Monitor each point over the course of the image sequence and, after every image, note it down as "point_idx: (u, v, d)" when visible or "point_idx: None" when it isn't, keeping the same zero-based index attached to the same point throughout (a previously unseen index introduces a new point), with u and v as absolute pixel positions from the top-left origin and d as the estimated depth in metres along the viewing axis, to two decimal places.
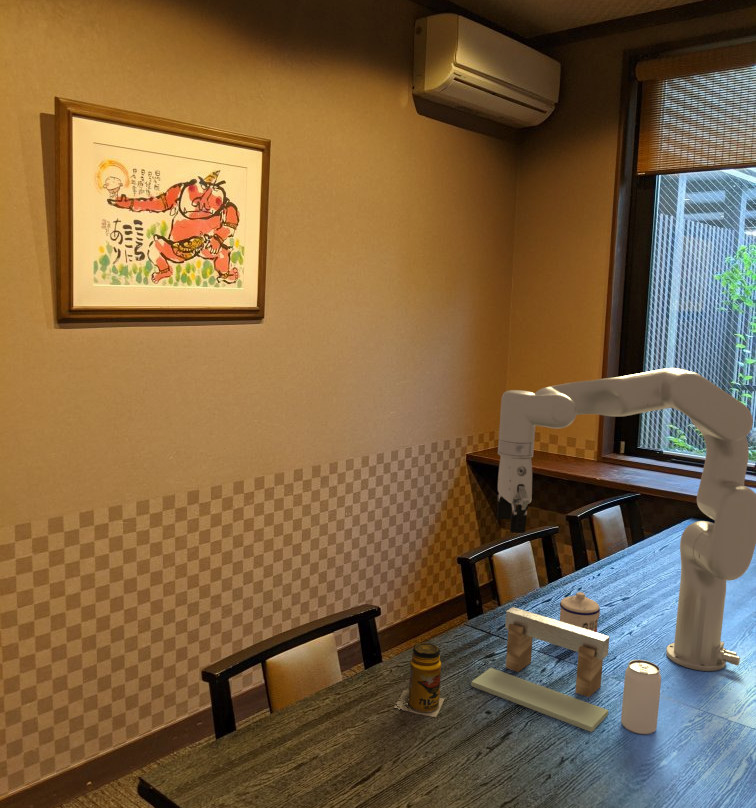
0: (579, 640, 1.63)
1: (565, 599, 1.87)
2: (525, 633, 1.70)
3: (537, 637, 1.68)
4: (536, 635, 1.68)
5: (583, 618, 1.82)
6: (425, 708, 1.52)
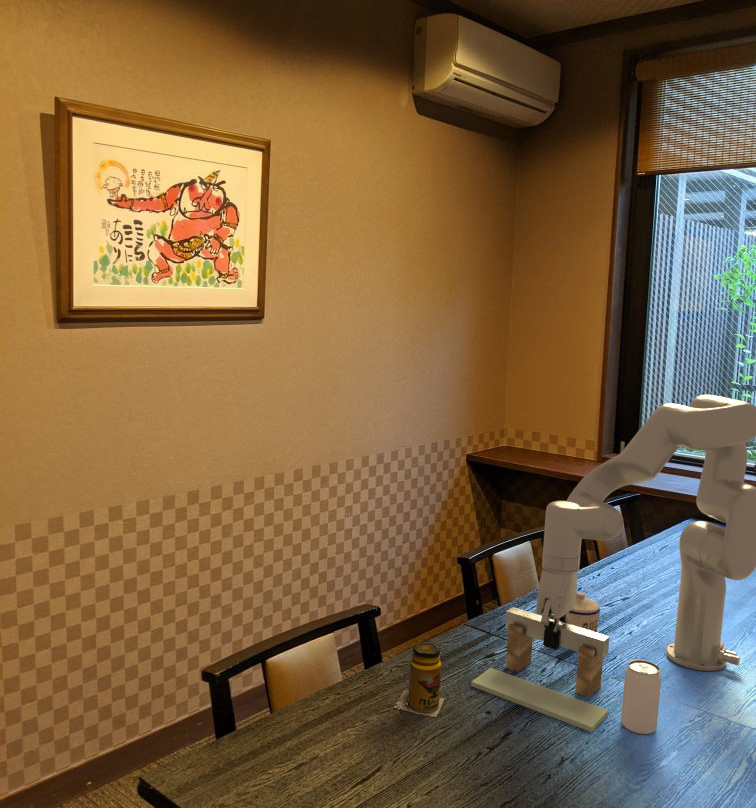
0: (579, 640, 1.63)
1: None
2: (525, 633, 1.70)
3: (537, 637, 1.68)
4: (536, 635, 1.68)
5: (583, 618, 1.82)
6: (425, 708, 1.52)
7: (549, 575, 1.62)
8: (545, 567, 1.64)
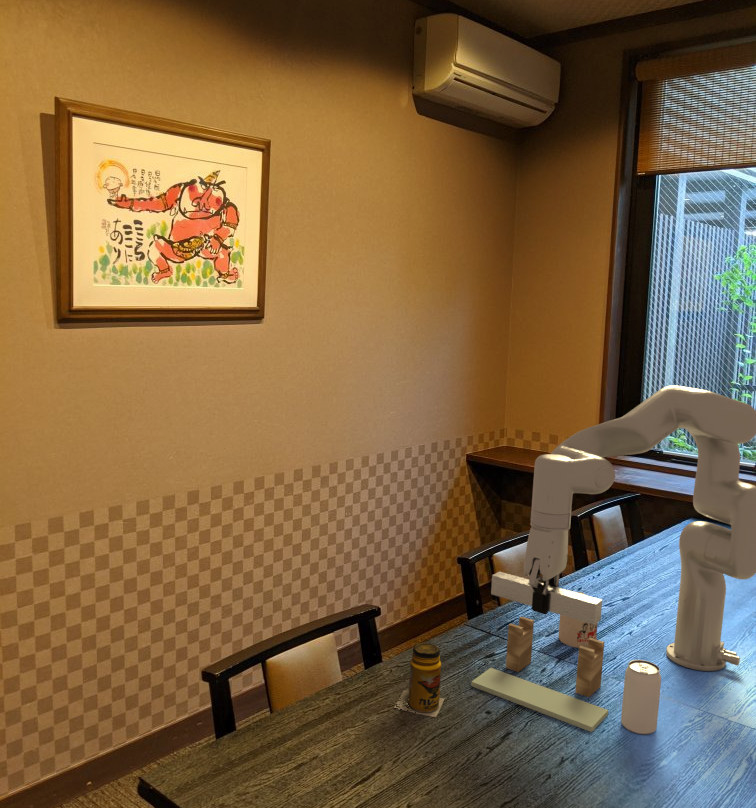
0: (569, 604, 1.51)
1: None
2: (512, 598, 1.58)
3: (525, 602, 1.57)
4: (524, 600, 1.57)
5: None
6: (425, 708, 1.52)
7: (537, 533, 1.50)
8: (533, 525, 1.52)
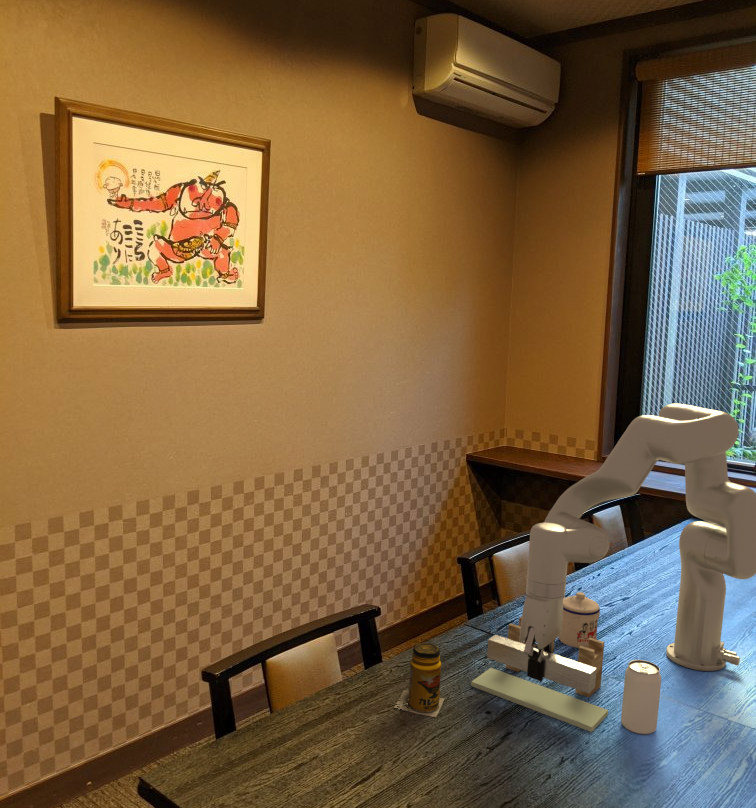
0: (564, 672, 1.53)
1: (565, 599, 1.87)
2: (508, 663, 1.60)
3: (520, 668, 1.59)
4: (519, 665, 1.59)
5: (583, 618, 1.82)
6: (425, 708, 1.52)
7: (533, 602, 1.52)
8: (529, 593, 1.54)
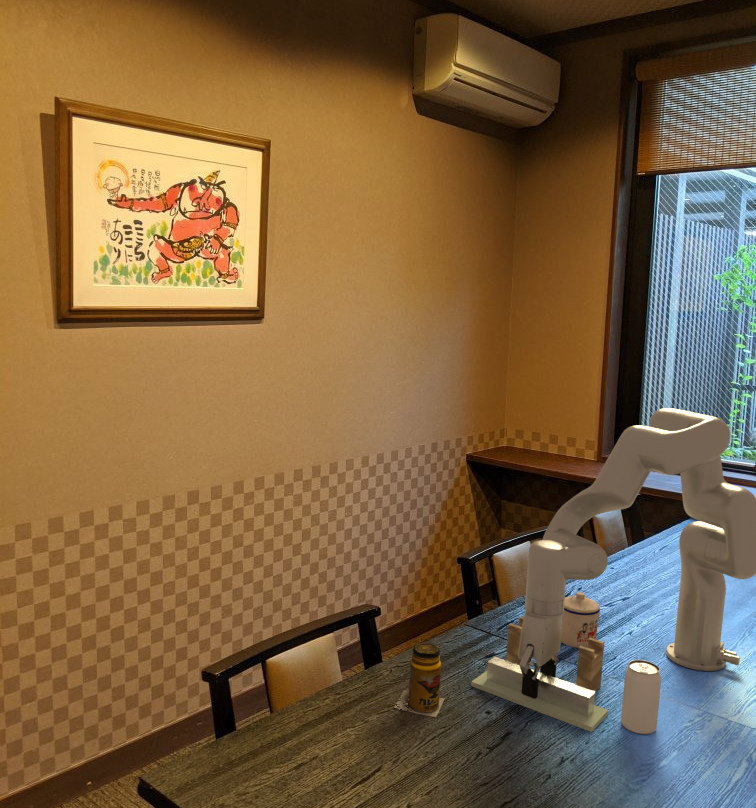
0: (563, 695, 1.54)
1: (565, 599, 1.87)
2: (507, 685, 1.61)
3: (520, 690, 1.60)
4: (519, 688, 1.60)
5: (583, 618, 1.82)
6: (425, 708, 1.52)
7: (531, 619, 1.53)
8: (528, 611, 1.55)
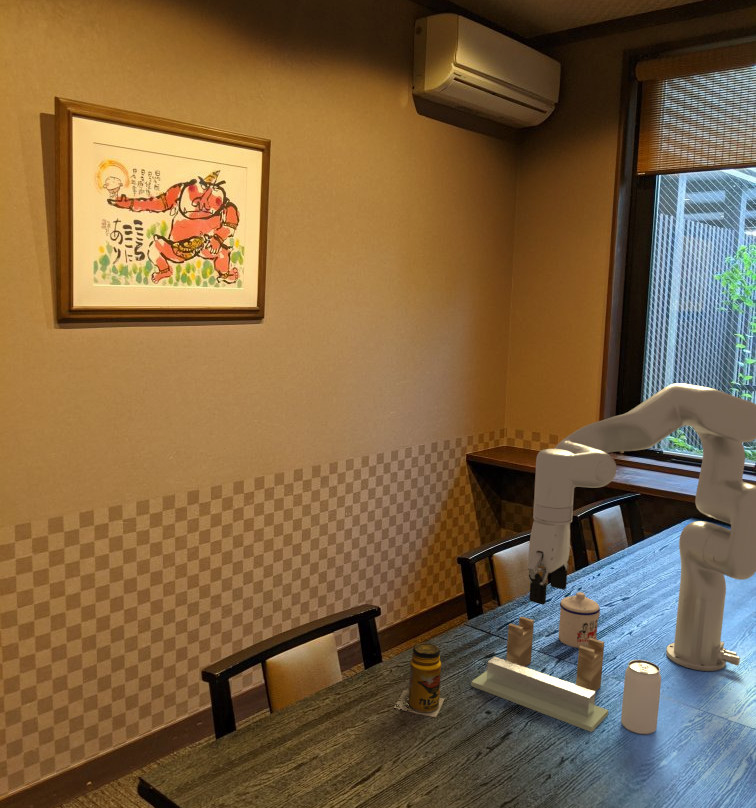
0: (563, 695, 1.54)
1: (565, 599, 1.87)
2: (507, 685, 1.61)
3: (520, 690, 1.60)
4: (519, 688, 1.60)
5: (583, 618, 1.82)
6: (425, 708, 1.52)
7: (540, 526, 1.53)
8: (536, 518, 1.55)
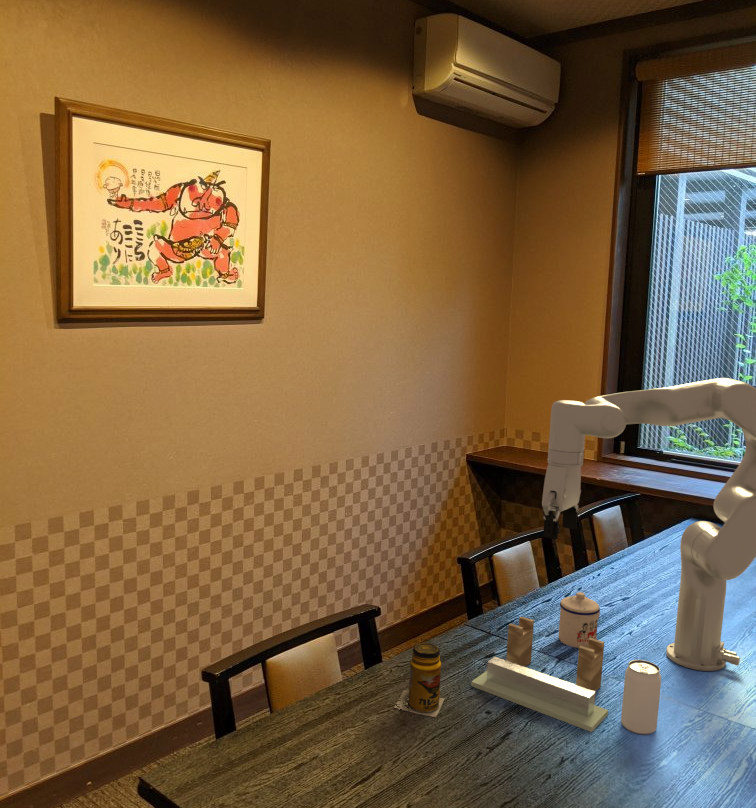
0: (563, 695, 1.54)
1: (565, 599, 1.87)
2: (507, 685, 1.61)
3: (520, 690, 1.60)
4: (519, 688, 1.60)
5: (583, 618, 1.82)
6: (425, 708, 1.52)
7: (554, 468, 1.70)
8: (550, 462, 1.72)
